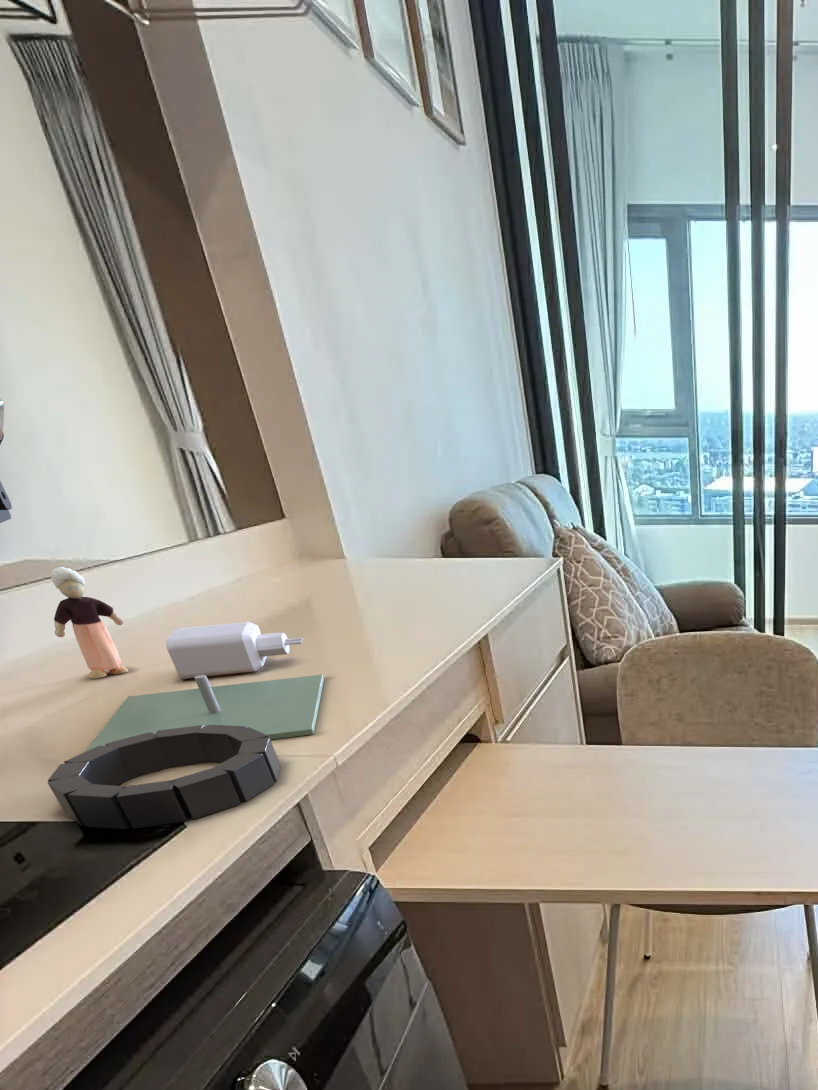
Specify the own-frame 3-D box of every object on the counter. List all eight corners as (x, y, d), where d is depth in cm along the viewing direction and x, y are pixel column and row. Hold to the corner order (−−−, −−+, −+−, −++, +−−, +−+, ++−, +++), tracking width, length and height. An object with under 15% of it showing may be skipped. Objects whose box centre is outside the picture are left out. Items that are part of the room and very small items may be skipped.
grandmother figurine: (90, 682, 109) (35, 573, 101) (75, 678, 110) (20, 570, 103) (150, 667, 114) (102, 562, 106) (134, 663, 116) (86, 560, 108)
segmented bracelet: (42, 842, 72) (22, 809, 70) (95, 769, 85) (79, 739, 83) (270, 809, 76) (257, 777, 74) (286, 744, 89) (275, 715, 88)
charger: (306, 668, 112) (180, 682, 108) (311, 651, 119) (193, 663, 115) (293, 630, 109) (163, 642, 105) (298, 614, 116) (177, 626, 112)
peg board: (82, 764, 86) (58, 719, 83) (130, 701, 102) (111, 662, 100) (313, 734, 92) (298, 691, 89) (324, 679, 108) (311, 641, 105)
